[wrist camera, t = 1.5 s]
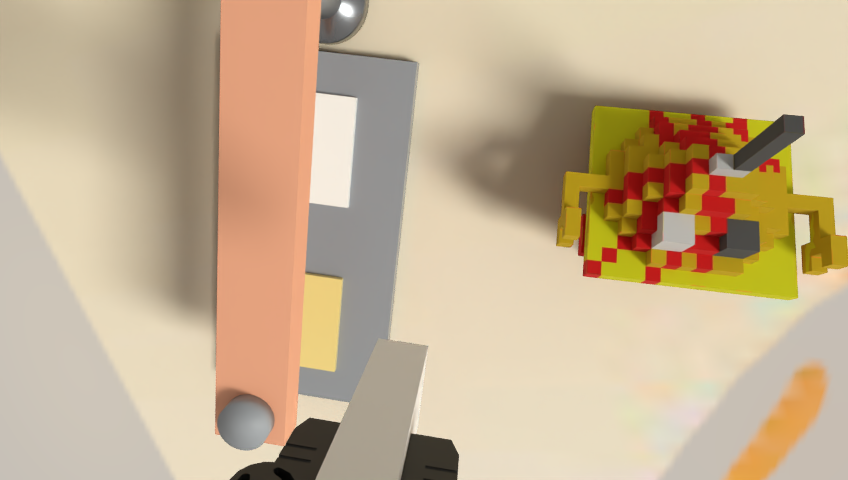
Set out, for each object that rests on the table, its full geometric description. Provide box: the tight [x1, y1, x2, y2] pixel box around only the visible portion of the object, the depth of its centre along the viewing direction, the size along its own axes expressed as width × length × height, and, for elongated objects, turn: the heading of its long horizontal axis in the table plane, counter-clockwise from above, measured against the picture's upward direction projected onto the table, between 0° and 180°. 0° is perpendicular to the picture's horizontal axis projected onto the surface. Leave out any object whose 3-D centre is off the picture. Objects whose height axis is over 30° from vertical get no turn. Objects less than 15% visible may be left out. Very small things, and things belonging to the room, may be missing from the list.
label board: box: [298, 51, 419, 402], centre depth 36 cm, size 24×12×1 cm, turn 173°
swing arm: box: [215, 0, 342, 450], centre depth 30 cm, size 26×4×10 cm, turn 173°
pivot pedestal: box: [319, 0, 369, 45], centre depth 32 cm, size 5×5×1 cm
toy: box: [556, 105, 848, 300], centre depth 28 cm, size 14×10×15 cm
